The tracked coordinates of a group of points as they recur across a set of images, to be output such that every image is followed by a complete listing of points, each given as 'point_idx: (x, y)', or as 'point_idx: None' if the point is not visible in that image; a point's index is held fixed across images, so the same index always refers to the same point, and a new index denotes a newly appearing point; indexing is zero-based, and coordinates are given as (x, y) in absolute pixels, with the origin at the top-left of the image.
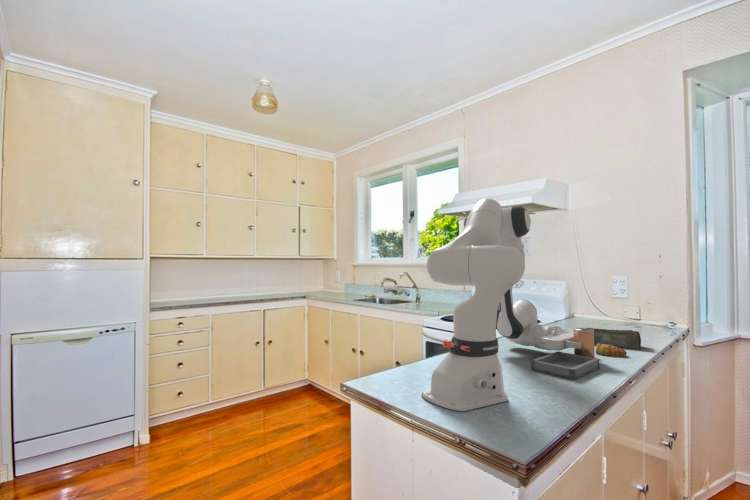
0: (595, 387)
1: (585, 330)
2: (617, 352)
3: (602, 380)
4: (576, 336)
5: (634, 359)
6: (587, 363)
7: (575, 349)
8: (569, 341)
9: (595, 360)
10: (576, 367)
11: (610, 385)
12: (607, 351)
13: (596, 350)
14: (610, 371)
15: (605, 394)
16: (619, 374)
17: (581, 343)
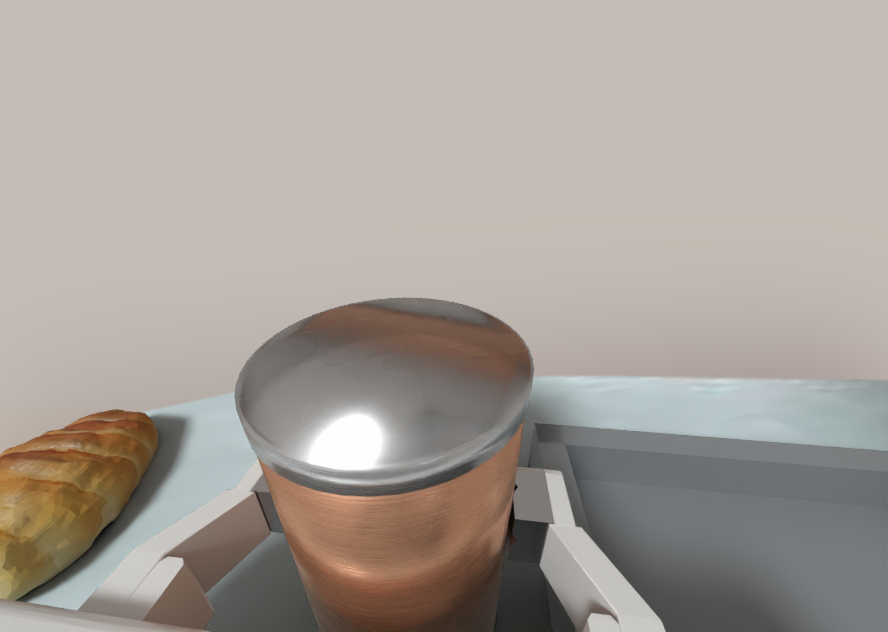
0: (817, 412)
1: (472, 327)
2: (142, 437)
3: (699, 415)
4: (512, 479)
5: (208, 398)
6: (708, 442)
7: (485, 616)
8: (627, 612)
9: (585, 430)
10: (883, 459)
11: (716, 388)
12: (112, 485)
13: (20, 580)
14: (526, 422)
15: (823, 380)
16: (539, 394)
17: (531, 468)
